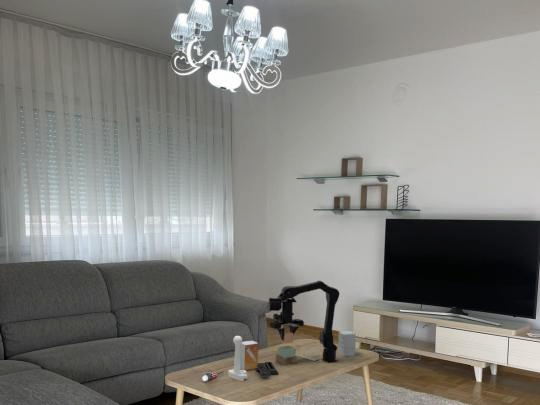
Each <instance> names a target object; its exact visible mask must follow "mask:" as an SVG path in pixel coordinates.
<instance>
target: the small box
mask: <svg viewBox="0 0 540 405" xmlns="http://www.w3.org/2000/svg"><path fill="white" fill-rule="evenodd" d="M258 358H259V343H258V342H256V341H254V340H246V341H242V343H241V344H240V370H245V371H251V370H256V369H255V368H256V366H257V365H258V363H259V361H258V360H259V359H258ZM258 366H259V365H258Z"/></svg>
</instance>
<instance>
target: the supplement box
mask: <svg viewBox="0 0 540 405" xmlns="http://www.w3.org/2000/svg"><path fill="white" fill-rule="evenodd" d="M338 354H339V355H340V354H341V355H340V356H342V357H343V356H344V357H343V358H346V356H347V357H355V356H356V333H355V332H353V331H351V330H345V331H343V330H342V331H341V330H340V331H338Z"/></svg>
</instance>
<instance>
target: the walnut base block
mask: <svg viewBox="0 0 540 405" xmlns="http://www.w3.org/2000/svg"><path fill="white" fill-rule="evenodd" d="M275 362H276V363H279V364H280V365H282V366H290V365H295V364H297V362H298V358H297V355H296V356H295V357H288V358H283V357H281V356H280V355H278V353H276V354H275Z"/></svg>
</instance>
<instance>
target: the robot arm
mask: <svg viewBox="0 0 540 405" xmlns="http://www.w3.org/2000/svg"><path fill="white" fill-rule="evenodd" d="M316 290H321V291H322V292H324V293H325V300H326V309H325V317H324V325H323V330H322V331H319V336H318V340H319V343H320V344H321V345H322V347H323V351H322V358H321V361H324V362H325V363H329V364H330V363H335V362H338V360H337V350H338V346H336V344H335V343H334V334H333V327H334V326H333V324H334V317H335V308H336V304H337V303H338V301H339V297H340V290H338V289H337V288H335V287H333V286H329V285H328V284H326V283H325V282H324V281H322V280H317V281H313V282H309V283H306V284H301V285H290V286H288V285H287V286H283V287H282V288H281V292H280V294H278V296H277V297H269V298H268V302H267V311H268V312H275V311H276V312H279V311H280V310H281V311H280V313H279V314H278V313H273V317H272V319H273V321H270V322H269V328H272V329H274V330H277V331H278V334H279V338H280V337H281V340H282V341H283V339H284V331H285V330H286V328H284V327H285V326H288V327H289V332H292V333H293V336H295V334H296V332H297V330H298V329H299V328H300V327H304V326H305V322H304V320H303V319H301V318H293V316H294V315H295V313H294V312H293V306H294V303H297V300H296V299H295V297H297V296H298V295H300V294H304V293H308V292H312V291H316Z"/></svg>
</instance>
